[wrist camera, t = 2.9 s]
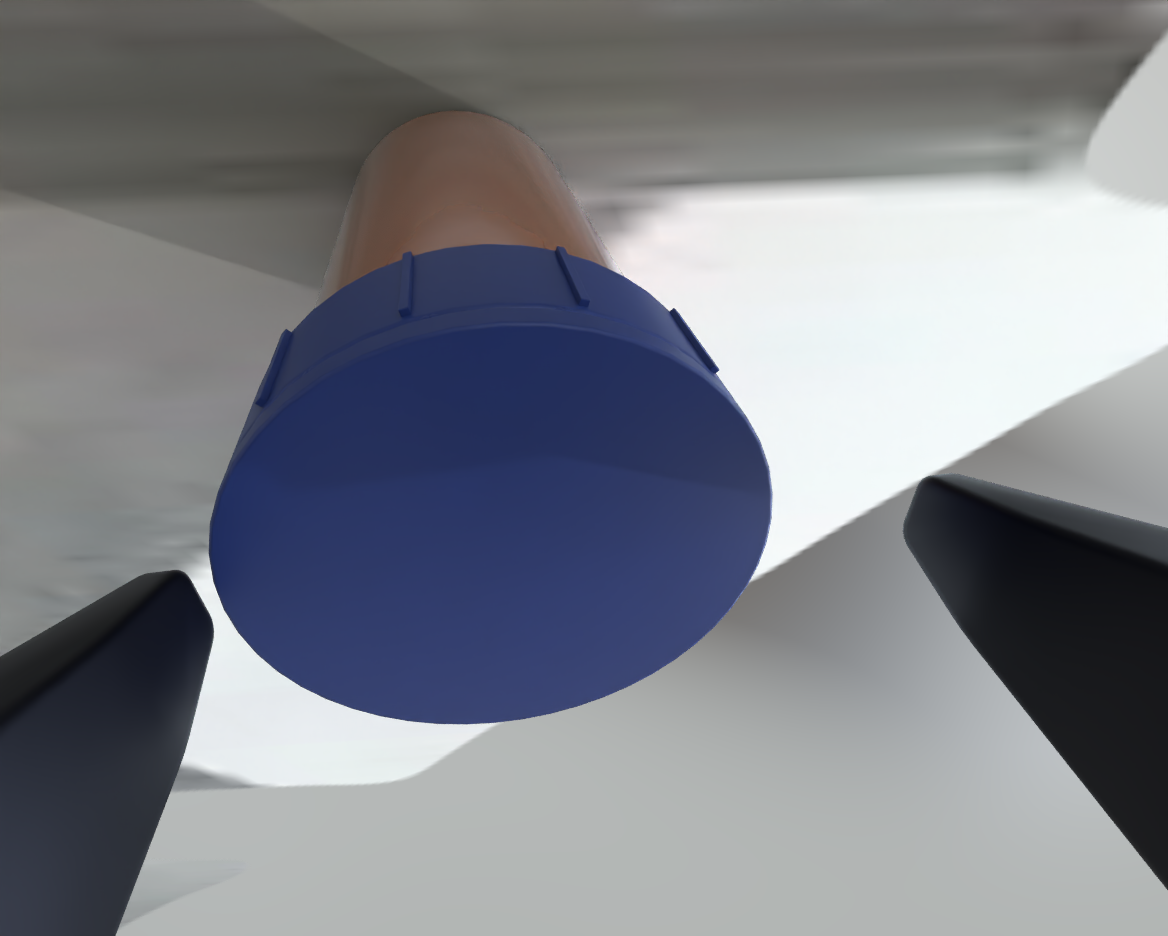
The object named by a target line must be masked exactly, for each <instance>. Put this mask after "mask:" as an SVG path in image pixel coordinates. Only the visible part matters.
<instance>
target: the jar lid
mask: <svg viewBox="0 0 1168 936" xmlns="http://www.w3.org/2000/svg"><path fill="white" fill-rule="evenodd" d="M718 371H719V368H718V367H717V366H716V364H715V363H714V361H713V360H712V359H711V357H710V356H709V354H708V353H707V352H706V350H705V349H704V348H703V346H702V345H701V343H700V342H699V341H698V339H697V338H696V336H695V335H694V334H693V332H692V331H691V329H690V328H689V327H688V325H687V324H686V323H685V321H684V320H683V318H682V317H681V316H680V314H679V313H678V312H677V311H676V309H675V308H673V309H672V310H671V311H668V310H667V309H666V308H665V307H664V306H663V305H662V304H661V303H660V302H658V301H657V300H656V299H655V298H654V297H653V296H652V295H651V294H649V293H648V292H647V291H645V290H644V289H642V288H641V287H639V286H638V285H636V284H635V283H633V282H632V281H630V280H629V279H627V278H625V277H624V276H622V275H620V274H618V273H616V272H614V271H612V270H610V269H607V268H605V267H603V266H601V265H599V264H597V263H595V262H592V261H589V260H586V259H583V258H580V257H576V256H573V255H570V254H568V253H567V251H566V249H565V248H564V247H560V246H557V247H556V251H555V250H549V249H544V248H538V247H531V246H524V245H500V244H480V245H470V246H460V247H450V248H444V249H440V250H435V251H430V252H425V253H423V254H419V255H414V256H413V255H412V252H411V251H409V252H406V253H403V257H402V260H399V261H397V262H394V263H391V264H389V265H386V266H384V267H381V268H378V269H376V270H373V271H372V272H370V273H368V274H366V275H364V276H363V277H361V278H359V279H357V280H355V281H354V282H352V283H350V284H348V285H346V286H344V287H343V288H341V289H340V290H338V291H337V292H336V293H335V294H333V295H332V296H331V297H329V298H328V299H327V300H325V301H324V302H323V303H321V304H320V305H319V306H317V307H316V308H315V309H314V310H313V311H312V312H311V313H310V314H309V315H308V316H307V317H306V318H305V319H304V320H303V321H302V322H301V323H300V324H299V325H298V326H297V327H296V328H295V329H294V330H293V331H292V332H290V331H288V330H287V329H286V330H285V331H284V332H283V333H282V335H281V337H280V340H279V342H278V345H277V347H276V350H275V353H274V355H273V358H272V360H271V363H270V365H269V368H268V370H267V372H266V374H265V376H264V378H263V380H262V382H261V385H260V387H259V389H258V392H257V394H256V397H255V399H254V402H253V404H252V407H251V410H250V412H249V415H248V417H247V420H246V422H245V425H244V427H243V430H242V432H241V435H240V437H239V440H238V443H237V445H236V448H235V450H234V453H233V455H232V458H231V460H230V463H229V465H228V468H227V471H226V473H225V476H224V478H223V481H222V483H221V486H220V488H219V491H218V494H217V498H216V502H215V506H214V509H213V513H212V517H211V521H210V535H209V558H210V564H211V570H212V576H213V582H214V585H215V587H216V590H217V593H218V595H219V598H220V600H221V603H222V606H223V608H224V610H225V612H226V614H227V615H228V617H229V618H230V620H231V622H232V623H233V625H234V627H235V628H236V630H237V631H238V633H239V634H240V635H241V636H242V638H243V639H244V640H245V641H246V642H247V643H248V644H249V646H250V647H251V648H252V649H253V650H254V651H255V652H256V653H257V654H258V655H259V656H260V657H261V658H262V659H264V660H265V661H266V662H267V663H268V664H269V665H271V666H272V667H273V668H274V669H275V670H277V671H278V672H279V673H281V674H282V675H284V676H286V677H287V678H289V679H290V680H292V681H293V682H295V683H296V684H298V685H299V686H301V687H303V688H305V689H307V690H309V691H311V692H313V693H315V694H317V695H319V696H321V697H323V698H325V699H328V700H331V701H333V702H336V703H339V704H341V705H344V706H347V707H349V708H352V709H356V710H359V711H363V712H367V713H371V714H374V715H378V716H383V717H388V718H394V719H400V720H405V721H413V722H424V723H434V724H480V723H496V722H504V721H512V720H520V719H526V718H531V717H536V716H541V715H546V714H551V713H555V712H558V711H562V710H566V709H569V708H573V707H577V706H580V705H583V704H586V703H588V702H591V701H594V700H597V699H600V698H603V697H605V696H607V695H610V694H612V693H614V692H617V691H619V690H621V689H624V688H626V687H628V686H630V685H632V684H634V683H636V682H638V681H639V680H642V679H644V678H645V677H647V676H649V675H651V674H653V673H655V672H656V671H658V670H659V669H661V668H662V667H664V666H666V665H667V664H669V663H670V662H672V661H673V660H675V659H676V658H678V657H679V656H680V655H682V654H683V653H684V652H686V651H687V650H688V649H690V648H691V647H692V646H694V645H695V644H696V643H697V642H698V641H699V640H700V639H702V638H703V637H704V636H705V635H706V634H707V633H708V632H709V631H710V630H711V629H713V627H715V626H716V625H717V623H718V622H719V621H720V620H721V619H722V618H723V617H724V616H725V614H726V613H727V612H728V611H729V610H730V609H731V608H732V606H733V605H734V604H735V602H736V601H737V599H738V598H739V597H740V595H741V594H742V592H743V591H744V590H745V588H746V587H747V585H748V583H749V581H750V579H751V577H752V576H753V574H754V572H755V570H756V568H757V566H758V564H759V561H760V559H761V556H762V553H763V551H764V548H765V545H766V542H767V538H768V533H769V528H770V524H771V518H772V486H771V478H770V471H769V466H768V463H767V460H766V457H765V454H764V451H763V448H762V445H761V442H760V440H759V438H758V436H757V435H756V433H755V431H754V429H753V428H752V426H751V424H750V422H749V420H748V419H747V417H746V415H745V414H744V413H743V411H742V410H741V408H740V407H739V406H738V404H737V403H736V402H735V400H734V399H733V397H732V396H731V394H730V393H729V391H728V390H727V388H726V387H725V386H724V384H723V383H722V381H721V380H720V379H719V377H718V376H717V374H716V372H718Z"/></svg>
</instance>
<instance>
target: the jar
mask: <svg viewBox="0 0 1168 936" xmlns="http://www.w3.org/2000/svg"><path fill="white" fill-rule="evenodd" d="M480 244H500V245H524V246H531V247H538V248H544V249H549V250H555V251H556V247H557V246H560V247H564V248H565V249H566V251H567V253H568V254H570V255H573V256H576V257H580V258H583V259H586V260H589V261H592V262H595V263H597V264H599V265H601V266H603V267H605V268H607V269H610V270H612V271H614V272H616V273H618V274H620V275H622V276H624V275H623V274H622V272H621V270H620V269H619V267H618V266H617V264H616V263H615V261H614V259H613V258H612V256H611V255H610V253H609V251H608V250H607V248H606V247H605V245H604V244H603V242H602V240H601V239H600V237H599V236H598V234H597V232H596V231H595V229H594V228H593V226H592V224H591V223H590V221H589V220H588V218H587V217H586V215H585V213H584V212H583V210H582V209H581V207H580V205H579V204H578V202H577V201H576V199H575V197H574V196H573V194H572V193H571V191H570V190H569V188H568V186H567V185H566V183H565V182H564V180H563V178H562V177H561V175H560V174H559V172H558V170H557V169H556V167H555V166H554V164H553V163H552V161H551V160H550V159H549V157H548V156H547V155H546V154H545V152H544V151H543V150H542V149H541V148H540V147H539V146H538V145H537V144H536V143H535V142H534V141H533V140H532V139H531V138H529V137H528V136H527V135H525V134H524V133H523V132H521V131H520V130H518V129H517V128H515V127H513V126H511V125H510V124H508V123H506V122H504V121H502V120H499V119H496V118H494V117H491V116H488V115H484V114H480V113H475V112H469V111H442V112H436V113H431V114H427V115H423V116H420V117H418V118H415V119H413V120H410V121H408V122H406V123H404V124H403V125H401V126H399V127H398V128H396V129H394V130H393V131H392V132H391V133H389V134H388V135H387V136H386V137H384V138H383V139H382V140H381V141H380V142H379V143H378V145H377V146H376V147H375V148H374V149H373V150H372V151H371V153H370V154H369V156H368V157H367V159H366V160H365V162H364V163H363V165H362V167H361V170H360V172H359V174H358V176H357V178H356V181H355V184H354V187H353V191H352V194H351V197H350V200H349V203H348V206H347V209H346V212H345V215H344V218H343V221H342V224H341V227H340V230H339V234H338V237H337V240H336V243H335V246H334V249H333V252H332V255H331V258H330V261H329V264H328V267H327V270H326V273H325V277H324V280H323V283H322V286H321V289H320V292H319V295H318V298H317V301H316V304H315V307H314V309H315V308H316V307H317V306H319V305H320V304H321V303H323V302H324V301H325V300H327V299H328V298H329V297H331V296H332V295H333V294H335V293H336V292H337V291H338V290H340V289H341V288H343V287H344V286H346V285H348V284H350V283H352V282H354V281H355V280H357V279H359V278H361V277H363V276H364V275H366V274H368V273H370V272H372V271H373V270H376V269H378V268H381V267H384V266H386V265H389V264H391V263H394V262H397V261H399V260H402V257H403V253H406V252H409V251H411V252H412V255H413V256H414V255H419V254H423V253H425V252H430V251H435V250H440V249H444V248H450V247H460V246H470V245H480Z"/></svg>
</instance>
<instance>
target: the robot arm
mask: <svg viewBox="0 0 1168 936" xmlns="http://www.w3.org/2000/svg"><path fill="white" fill-rule="evenodd" d="M903 534H904V539H905V542H906V544H907V546H908V548H909V549H910V551H911V552H912V554H913V555H914V557H915V558H916V560H917V562H918V563H919V565H920V566H921V568H922V569H923V571H924V573H925V574H926V576H927V577H928V579H929V580H930V582H931V583H932V585H933V587H934V588H935V590H936V591H937V593H938V595H939V596H940V598H941V599H942V601H943V602H944V604H945V606H946V607H947V608H948V610H949V612H950V613H951V615H952V616H953V618H954V619H955V621H956V622H957V624H958V625H959V627H960V628H961V630H962V631H963V632H964V633H965V635H966V636H967V638H968V639H969V640H970V642H971V643H972V644H973V646H974V647H975V648H976V649H977V651H978V652H979V653H980V654H981V656H982V657H983V658H984V659H985V661H986V662H987V663H988V665H989V666H990V667H991V668H992V670H993V671H994V672H995V673H996V675H997V676H998V677H999V678H1000V680H1001V681H1002V682H1003V683H1004V685H1005V686H1006V687H1007V688H1008V690H1009V691H1010V692H1011V693H1012V695H1013V696H1014V697H1015V698H1016V700H1017V701H1018V702H1019V703H1020V705H1021V706H1022V707H1023V709H1024V710H1025V711H1026V712H1027V714H1028V715H1029V716H1030V717H1031V719H1032V720H1033V721H1034V722H1035V724H1036V725H1037V726H1038V728H1039V729H1040V730H1041V731H1042V732H1043V734H1044V735H1045V736H1046V738H1047V739H1048V740H1049V741H1050V742H1051V744H1052V745H1053V746H1054V748H1055V749H1056V750H1057V751H1058V752H1059V754H1060V755H1061V756H1062V758H1063V759H1064V760H1065V761H1066V763H1067V764H1068V765H1069V767H1070V768H1071V769H1072V770H1073V771H1074V773H1075V774H1076V775H1077V777H1078V778H1079V779H1080V780H1081V781H1082V783H1083V784H1084V785H1085V787H1086V788H1087V789H1088V790H1089V792H1090V793H1091V794H1092V795H1093V797H1094V798H1095V799H1096V801H1097V802H1098V803H1099V804H1100V806H1101V807H1102V808H1103V809H1104V811H1105V812H1106V813H1107V814H1108V816H1109V817H1110V818H1111V819H1112V821H1113V822H1114V823H1115V824H1116V826H1117V827H1118V828H1119V829H1120V831H1121V832H1122V833H1123V835H1124V836H1125V837H1126V838H1127V839H1128V841H1129V842H1130V843H1131V844H1132V846H1133V847H1134V848H1135V849H1136V851H1137V852H1138V853H1139V855H1140V856H1141V857H1142V858H1143V860H1144V861H1145V862H1146V863H1147V865H1148V866H1149V867H1150V868H1151V869H1152V871H1153V872H1154V874H1155V875H1156V876H1157V877H1158V879H1159V880H1160V881H1161V882H1162V883H1163V884H1164V886H1165V887H1166V889H1167V890H1168V528H1165V527H1161V526H1157V525H1153V524H1149V523H1146V522H1142V521H1138V520H1134V519H1130V518H1126V517H1123V516H1119V515H1114V514H1111V513H1107V512H1103V511H1099V510H1095V509H1091V508H1088V507H1084V506H1080V505H1076V504H1072V503H1068V502H1065V501H1060V500H1057V499H1053V498H1049V497H1045V496H1041V495H1037V494H1034V493H1029V492H1026V491H1022V490H1018V489H1014V488H1010V487H1007V486H1003V485H999V484H995V483H991V482H987V481H983V480H979V479H975V478H972V477H968V476H964V475H960V474H952V473H949V474H941V475H933V476H928V477H925V478H924V479H922V480H921V482H920V483H919V484H918V486H917V489H916V491H915V494H914V497H913V499H912V502H911V505H910V508H909V510H908V513H907V516H906V518H905V521H904V524H903ZM213 638H214V628H213V622H212V619H211V616H210V614H209V612H208V610H207V609H206V607H205V605H204V603H203V601H202V599H201V598H200V596H199V594H198V592H197V590H196V588H195V587H194V585H193V583H192V581H191V579H190V578H189V577H188V575H187V574H186V573H184V572H182V571H179V570H171V571H163V572H155V573H147V574H144V575H141V576H139V577H137V578H135V579H133V580H132V581H130V582H128V583H126V584H125V585H123V586H121V587H119V588H118V589H116V590H114V591H113V592H111V593H109V594H107V595H106V596H104V597H102V598H101V599H99V600H97V601H95V602H94V603H92V604H90V605H88V606H87V607H85V608H83V609H82V610H80V611H78V612H76V613H75V614H73V615H71V616H70V617H68V618H66V619H64V620H63V621H61V622H59V623H58V624H56V625H54V626H52V627H51V628H49V629H47V630H45V631H44V632H42V633H40V634H39V635H37V636H35V637H33V638H32V639H30V640H28V641H27V642H25V643H23V644H21V645H20V646H18V647H16V648H14V649H13V650H11V651H9V652H8V653H6V654H4V655H2V656H1V657H0V936H115V935H116V933H117V930H118V928H119V925H120V922H121V920H122V917H123V915H124V912H125V909H126V907H127V904H128V901H129V899H130V896H131V894H132V891H133V888H134V886H135V883H136V880H137V878H138V875H139V873H140V870H141V867H142V865H143V862H144V859H145V857H146V854H147V852H148V849H149V846H150V844H151V841H152V838H153V836H154V833H155V830H156V828H157V825H158V822H159V820H160V817H161V815H162V812H163V810H164V807H165V804H166V802H167V799H168V797H169V794H170V791H171V789H172V786H173V783H174V781H175V778H176V776H177V773H178V770H179V767H180V764H181V761H182V759H183V756H184V753H185V749H186V746H187V742H188V739H189V735H190V732H191V728H192V724H193V720H194V716H195V712H196V708H197V704H198V700H199V696H200V692H201V688H202V684H203V680H204V676H205V672H206V668H207V664H208V660H209V656H210V652H211V648H212V644H213Z"/></svg>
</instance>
